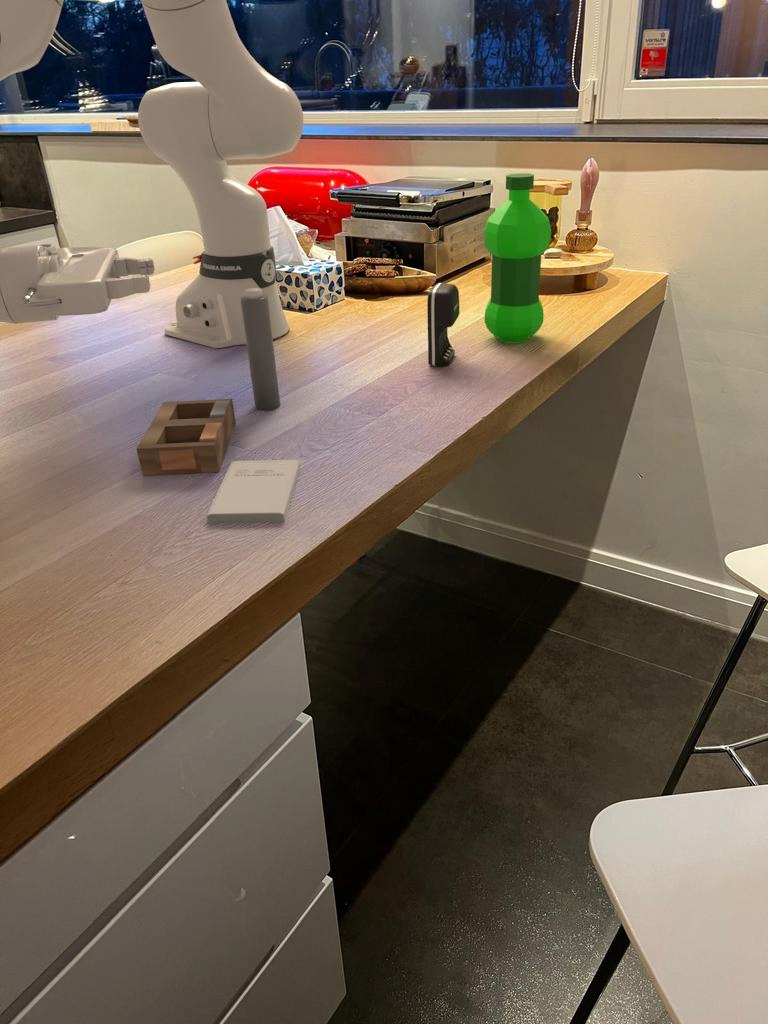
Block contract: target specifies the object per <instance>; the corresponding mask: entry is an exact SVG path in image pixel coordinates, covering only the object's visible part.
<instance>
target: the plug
mask: <svg viewBox="0 0 768 1024" xmlns="http://www.w3.org/2000/svg"><path fill="white" fill-rule="evenodd" d="M241 306H242V314H243V321H244V329H245V336H246V343H247V344H246V350H247V356H248V357H247V358H248V364H249V365H248V366H249V371H250V379H251V380H250V381H251V386H252V394H253V401H254V402H253V403H254V407H255V409H256V410H257V411H262V412H264V411H265V412H266V411H272V410H276V409H278V408H280V407H281V398H280V391H279V382H278V373H277V365H276V357H275V347H274V339H273V338H272V329H271V321H270V312H269V304H268V296H266V295H262V289H260V288H250V289H246V290H245V296H244V297H242V298H241Z"/></svg>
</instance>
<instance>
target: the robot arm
mask: <svg viewBox="0 0 768 1024" xmlns="http://www.w3.org/2000/svg"><path fill="white" fill-rule="evenodd" d="M64 1H65V0H0V82H1V81H3V80H4V79H6V78H7V77H9V76H11V75H13V74H16V73H21V72H25V71H27V70H30V69H31V68H33V67H35V66H36V65H38V64H39V62H40V61H41V59H42V58H43V56H44V54H45V52H46V50H47V49H48V46H49V44H50V42H51V40H52V39H53V37H54V34H55V31H56V27H57V25H58V23H59V22H58V21H59V18H60V15H61V12H62V9H63V5H64ZM140 2H141V5H142V8H143V12H144V14H145V17H146V20H147V22H148V26H149V28H150V31H151V33H152V37H153V39H154V42H155V44H156V47H157V50H158V52H159V54H160V55H161V57H162V59H163V60H164V61H166V64H168V65H169V66H171V68H172V69H174V70H175V71H178V72H179V73H181V74H183V75H185V76H188V77H189V78H191V79H193V80H195V81H184V82H173V83H168V84H165V85H162V86H159V87H156V88H153V89H152V88H151V89H150V90H147V91H146V92H145V93H144V94H143V97H142V98H141V101H140V103H139V106H138V112H137V123H138V128H139V132H140V135H141V137H142V140H143V141H144V143H145V144H146V146H147V147H148V148H149V150H150V151H151V152H152V153H153V154H154V156H157V157H158V158H160V159H161V160H162V161H164V162H165V163H166V164H167V165H169V166H170V168H172V169H173V170H174V171H175V172H176V174H177V175H178V176H179V178H180V179H181V181H182V182H183V184H184V185H185V186H186V188H187V191H188V192H189V194H190V196H191V198H192V201H193V202H194V203H193V204H194V206H195V210H196V214H197V219H198V221H199V222H198V223H199V227H200V232H201V238H202V244H203V249H204V251H203V252H202V253H201V254H198V255H195V256H193V257H192V259H197V260H195V261H193V262H192V263H193V265H196V264H199V263H200V265H199V274H198V275H197V276H196V277H195V279H193V280H192V282H190V283H189V284H188V285H187V287H185V289H183V290H182V291H181V292H180V293H179V295H178V296H177V298H176V301H175V318H176V319H175V320H173V321H172V322H170V323H169V324H167V325H166V326H165V327H164V334H165V335H167V336H170V337H174V338H178V339H181V340H185V341H188V342H192V343H195V344H198V345H202V346H206V347H210V348H213V349H221V348H222V349H223V348H228V347H232V346H237V345H247V343H246V336H245V329H244V321H243V314H242V306H241V298H242V297H244V296H245V290H246V289H250V288H260V289H262V295H266V296H268V304H269V312H270V321H271V329H272V338H273V340H275V339H277V338H280V337H282V336H283V335H285V334H287V333H288V331H289V330H290V326H289V323H288V321H287V319H286V318H287V317H286V316H285V313H284V310H283V306H282V302H281V299H280V294H279V291H278V284H277V280H276V278H277V266H276V265H277V264H276V263H277V262H276V258H275V249H274V247H273V246H272V245H271V236H270V226H269V219H268V211H267V210H268V209H267V203H266V201H265V199H264V198H263V196H262V195H261V194H260V193H259V192H258V191H257V189H255V188H253V187H252V186H251V185H248V184H246V183H244V182H242V181H240V180H238V179H237V178H236V177H235V176H234V175H233V174H232V172H231V171H230V169H229V167H228V163H227V160H228V161H229V160H230V161H231V160H262V159H268V158H273V157H277V156H279V155H280V156H281V155H285V154H288V153H291V152H293V150H294V149H295V148H296V146H297V145H298V144H299V142H300V140H301V137H302V134H303V130H304V113H303V109H302V105H301V102H300V99H299V98H298V95H297V94H296V93H295V91H294V90H293V89H292V88H291V86H289V85H288V84H287V83H285V82H283V81H281V80H279V79H278V78H276V77H275V76H273V75H272V74H270V73H269V72H267V70H266V69H265V68H264V67H262V66H261V65H260V64H259V63H258V62H257V61H256V60H255V58H254V57H253V56H252V55H251V54H250V52H249V50H247V48H246V47H245V45H244V43H243V41H242V40H241V38H240V37H239V34H238V31H237V30H236V26H235V24H234V20H233V18H232V15H231V11H230V9H229V5H228V3H227V0H140ZM119 255H120V254H119V252H118V250H117V249H116V248H111V247H103V246H100V247H99V246H97V247H95V246H93V247H92V246H82V247H80V246H79V247H76V246H75V247H74V246H73V247H71V246H70V247H60V248H56V245H55V244H53V243H45V244H38V245H28V246H27V245H26V246H25V245H23V246H13V247H2V248H1V247H0V323H5V324H14V325H15V324H17V325H18V324H27V323H29V324H30V323H39V322H40V323H41V322H48V321H57V320H59V317H60V316H83V315H86V316H87V315H95V314H101V313H103V312H106V311H108V309H109V307H110V304H111V302H112V300H117V299H118V300H119V299H122V298H126V297H129V296H131V295H132V296H133V295H135V294H144V293H149V291H150V289H151V282H150V277H149V276H150V275H153V274H154V273H155V270H156V269H155V263H154V260H153V259H152V258H149V257H148V258H133V257H127V256H126V257H120V256H119ZM128 276H129V277H128ZM121 277H122V278H121Z"/></svg>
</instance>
